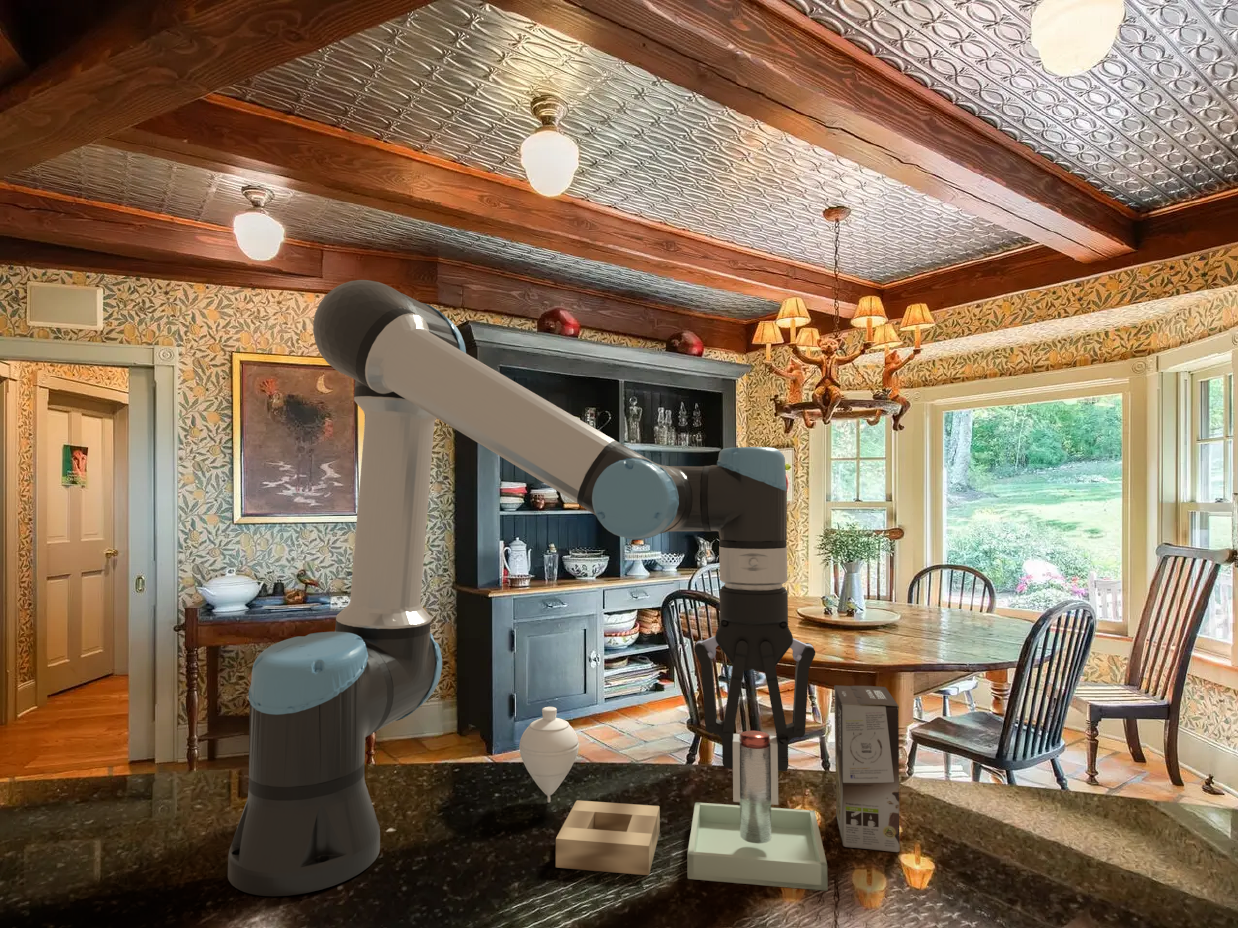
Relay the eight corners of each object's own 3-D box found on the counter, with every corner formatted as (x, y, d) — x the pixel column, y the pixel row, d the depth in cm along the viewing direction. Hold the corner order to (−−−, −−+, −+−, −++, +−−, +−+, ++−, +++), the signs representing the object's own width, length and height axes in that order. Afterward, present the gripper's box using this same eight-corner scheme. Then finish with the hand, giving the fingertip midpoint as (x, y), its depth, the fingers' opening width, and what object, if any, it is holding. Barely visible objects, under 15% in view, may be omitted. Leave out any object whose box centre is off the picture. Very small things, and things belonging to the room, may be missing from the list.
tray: (687, 878, 76) (687, 853, 76) (695, 823, 89) (695, 802, 89) (827, 890, 74) (827, 865, 74) (814, 832, 87) (814, 810, 87)
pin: (740, 841, 80) (739, 739, 80) (740, 828, 83) (739, 729, 84) (772, 844, 79) (771, 740, 80) (770, 830, 83) (769, 730, 83)
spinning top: (533, 820, 90) (534, 720, 90) (509, 797, 96) (510, 704, 97) (589, 806, 94) (589, 711, 94) (562, 786, 100) (563, 696, 101)
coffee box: (902, 853, 81) (900, 705, 82) (841, 847, 83) (840, 702, 83) (889, 818, 90) (887, 685, 91) (834, 813, 92) (833, 682, 92)
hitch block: (555, 867, 78) (555, 838, 78) (576, 825, 88) (576, 800, 88) (649, 875, 77) (649, 845, 77) (659, 831, 87) (659, 805, 87)
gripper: (677, 587, 80) (678, 807, 79) (833, 590, 78) (836, 817, 77) (682, 580, 88) (683, 780, 87) (825, 582, 85) (828, 789, 84)
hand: (755, 797), depth 82 cm, fingers closed on pin, 3 cm apart
